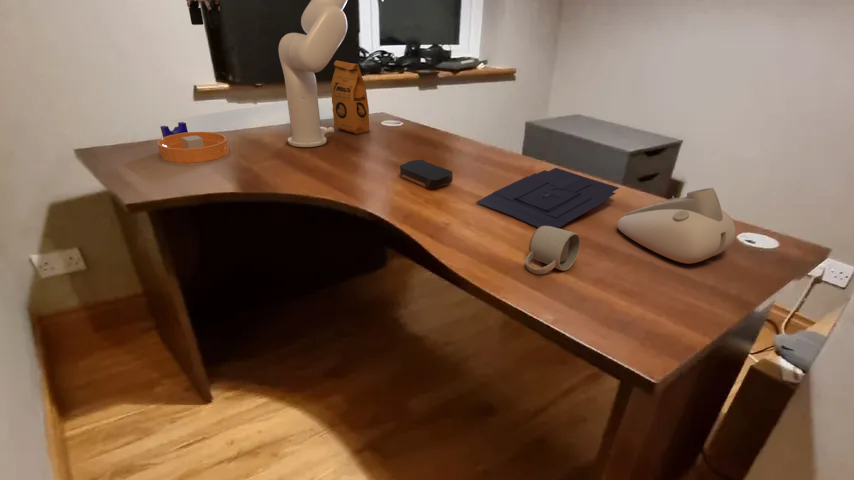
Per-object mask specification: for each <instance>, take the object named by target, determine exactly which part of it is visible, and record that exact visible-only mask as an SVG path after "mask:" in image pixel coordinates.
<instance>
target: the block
mask: <svg viewBox="0 0 854 480" xmlns="http://www.w3.org/2000/svg"><path fill="white" fill-rule="evenodd" d="M182 142H183V146H184V149H190V148H202V147H204V143H203V138H201V137H199V136H197V135H195V136H188V137H182Z"/></svg>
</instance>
